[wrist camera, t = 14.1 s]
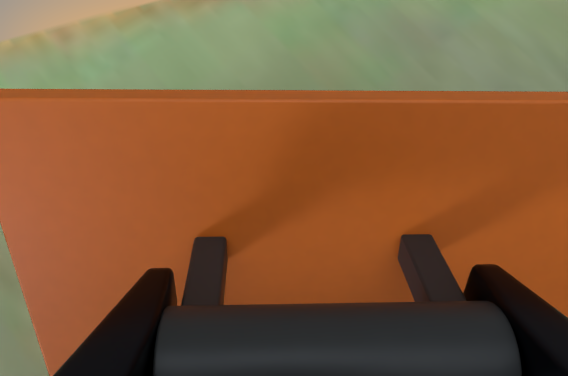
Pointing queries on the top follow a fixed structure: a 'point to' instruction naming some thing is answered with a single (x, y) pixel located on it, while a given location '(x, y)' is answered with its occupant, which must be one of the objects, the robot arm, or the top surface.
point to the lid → (287, 222)
